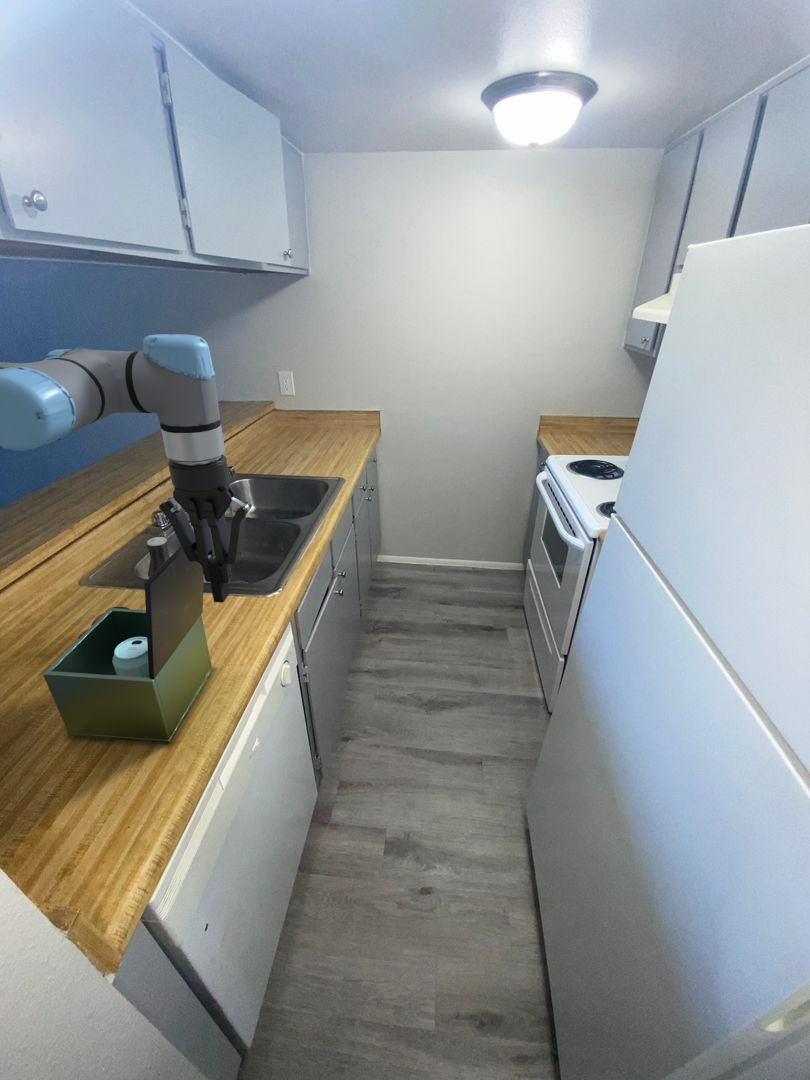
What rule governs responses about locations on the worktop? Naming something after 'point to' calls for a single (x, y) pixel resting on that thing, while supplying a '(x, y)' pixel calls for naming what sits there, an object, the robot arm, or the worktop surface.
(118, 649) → the can
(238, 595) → the worktop surface
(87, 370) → the robot arm
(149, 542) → the sauce bottle
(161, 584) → the box lid
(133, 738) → the green open box
